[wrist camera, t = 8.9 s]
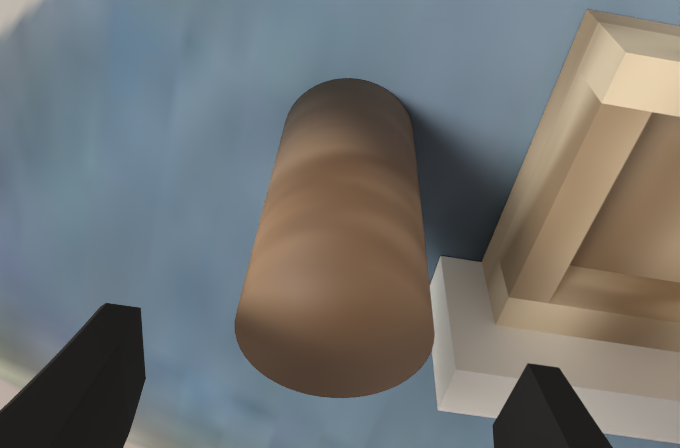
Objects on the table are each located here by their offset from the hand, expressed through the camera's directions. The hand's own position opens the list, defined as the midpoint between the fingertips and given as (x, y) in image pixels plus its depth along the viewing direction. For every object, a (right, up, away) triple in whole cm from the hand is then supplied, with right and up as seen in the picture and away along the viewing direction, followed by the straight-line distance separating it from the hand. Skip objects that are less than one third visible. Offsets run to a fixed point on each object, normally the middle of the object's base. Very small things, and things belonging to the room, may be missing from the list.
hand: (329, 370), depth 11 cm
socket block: (+10, +4, +7) cm, 13 cm away
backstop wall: (+10, 0, +11) cm, 14 cm away
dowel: (0, +5, +7) cm, 9 cm away
